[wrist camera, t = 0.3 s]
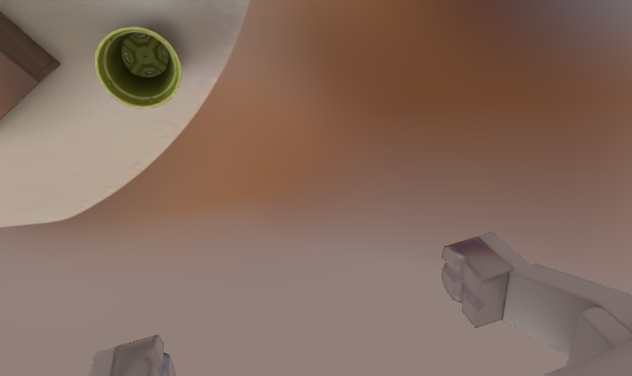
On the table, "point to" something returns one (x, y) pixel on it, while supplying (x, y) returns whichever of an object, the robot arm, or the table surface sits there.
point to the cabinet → (20, 65)
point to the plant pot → (138, 67)
